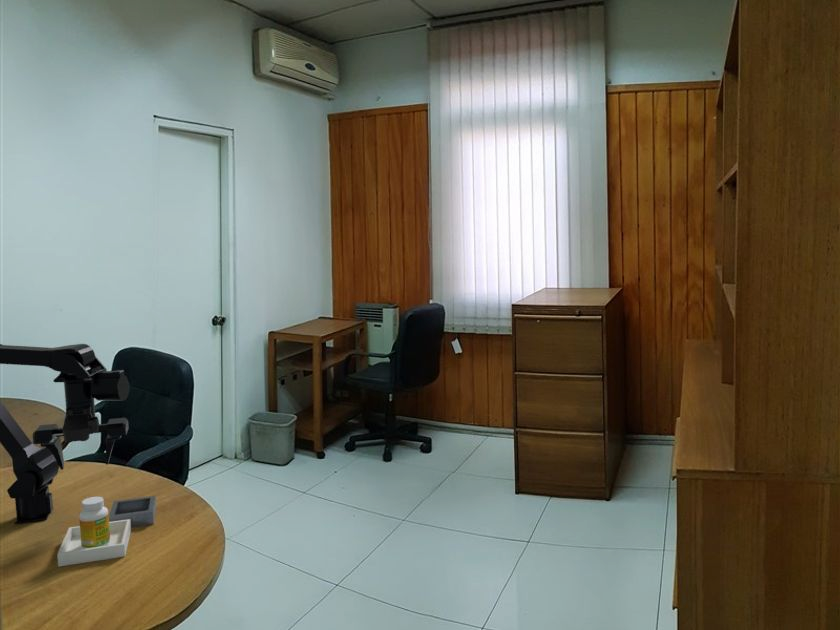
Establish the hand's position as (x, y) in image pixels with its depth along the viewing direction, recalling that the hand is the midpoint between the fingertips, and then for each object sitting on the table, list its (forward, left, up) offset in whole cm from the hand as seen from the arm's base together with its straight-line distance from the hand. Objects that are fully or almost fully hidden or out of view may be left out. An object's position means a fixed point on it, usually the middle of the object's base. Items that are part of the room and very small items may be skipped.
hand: (85, 466), depth 145 cm
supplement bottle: (+4, -17, -12) cm, 21 cm away
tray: (+4, -17, -12) cm, 21 cm away
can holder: (+10, -5, -12) cm, 16 cm away
